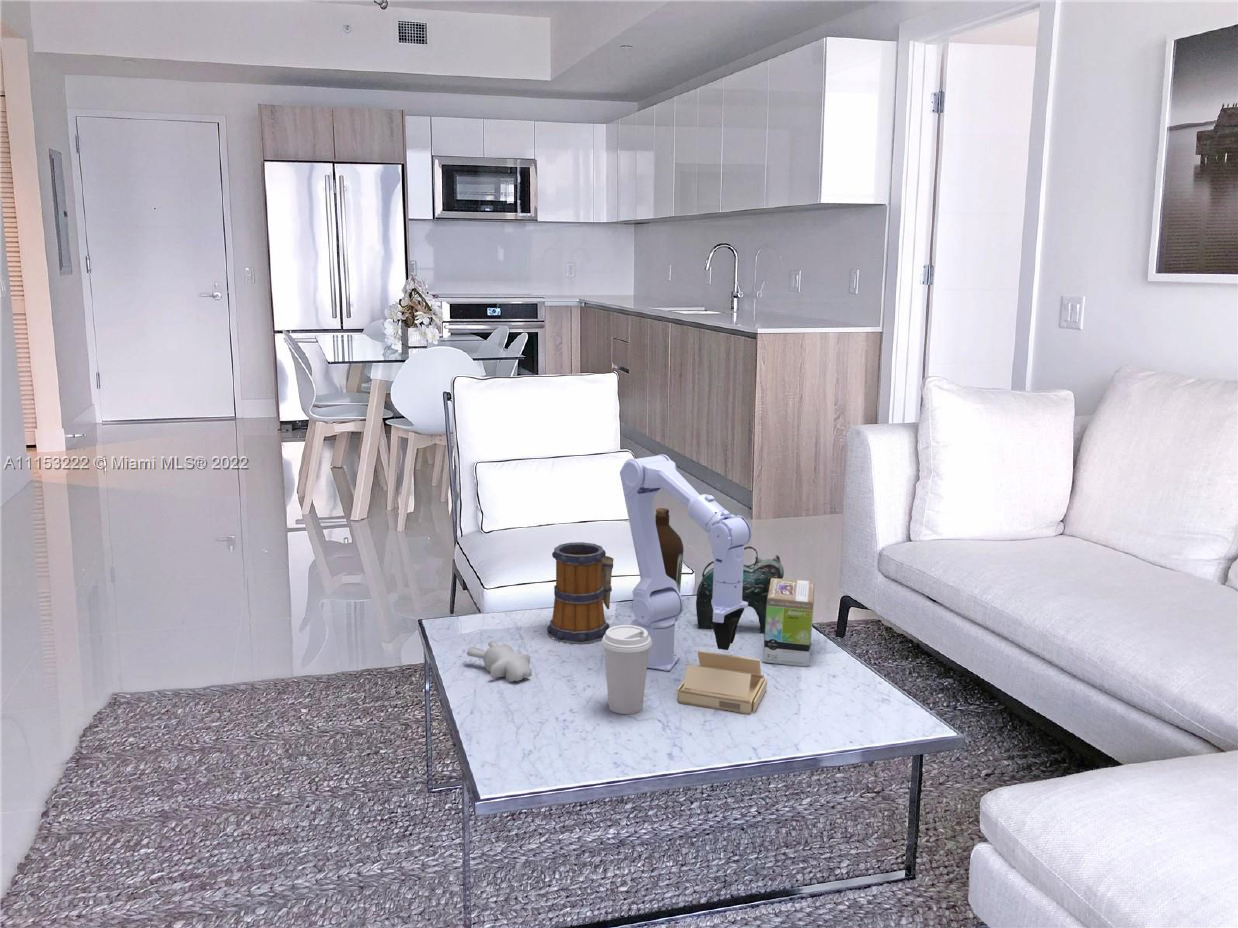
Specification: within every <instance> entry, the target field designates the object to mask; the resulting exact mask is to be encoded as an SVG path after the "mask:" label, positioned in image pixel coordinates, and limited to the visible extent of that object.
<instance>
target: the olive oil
mask: <svg viewBox="0 0 1238 928" xmlns="http://www.w3.org/2000/svg"><path fill="white" fill-rule="evenodd" d="M669 513H670V509H669V508H666V507H660V508H656V509H655V515H654V518H655V523H656V528H657V533H658V538H659V543H660V548H661V553H662V558H663V563H664V568H665V573H666V575H667V576H668V577H670V578H671V579H673V580H674V581H675V582H676V584H677V588H678V591H679V593H680V594H681V584H682V572H683V561H684V544H683V541H682V539H681V536H680V535H679V534H678V533H677V532H676V531H675V530H674V528H673V527H672V526H671V525H670V514H669ZM658 591H661V590H660V589H659V590H655V591H653V592H651V593H654V592H658Z"/></svg>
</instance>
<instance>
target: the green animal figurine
mask: <svg viewBox="0 0 1238 928" xmlns="http://www.w3.org/2000/svg"><path fill="white" fill-rule="evenodd" d="M747 549H751V550H753V551H754V552H755V553H756V556H755V562H754V563H752V564H748V565H747V564H744V565H743V588H742V600H743V601H745V602H748V606H747V608H748V607H750V608H752V609H753V610H754V611H755V614H756V615H757V617H758V623H759V634H765V621H766V606H767V598H768V592H769V586H770V580H771V578H778V579H784V576H785V575H784V574H785V571H784V567H783V566H784V565H782V562H781V556H779V555H778V554H776V555H775V557H774V558H772V559H769V558H767V559H761V558H760V557H759V555H758V551H757V549H756V548H754V546H746V547H745V546H744V551H745V550H747ZM712 564H713V565H714V560H713V561H710V562H708V563H707V565H706V566H705V567H704V569H703V571H702V574H701V577H702V579H701V581H700V583H699V584H698V587H697V590H696V601H695V609H696V610H695V611H696V621H697V629H698V630H700V629H701V630H712V625H711V623H710V621H709V618H708V616H709V614H710V612H713V608H712V605H711V600H712V598H713V571H714V567H712V568H710V569H709V570H708V571H707V572H706V570H707V569H708V568H709V567H710V566H711V565H712ZM705 572H706V573H705Z"/></svg>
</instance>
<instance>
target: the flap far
mask: <svg viewBox="0 0 1238 928" xmlns="http://www.w3.org/2000/svg"><path fill="white" fill-rule="evenodd" d="M697 657H698V658H697V659H698V665H700V666H707V667H714V668H720V669H727V670H733V671H740V672H747V673H753V674H760V675H761V674H762V670H761V660H760V659H759V658H753V657H752V658H751V657H746V656H745V657H744V656H739V655H734V654H733V655H732V654H726V653H718V652H711V651H706V650H705V651H704V650H697Z"/></svg>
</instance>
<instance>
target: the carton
mask: <svg viewBox="0 0 1238 928" xmlns="http://www.w3.org/2000/svg"><path fill="white" fill-rule="evenodd" d="M697 666H699V667H706V668H712V669H719V670H726V671H732V672H739V673H745V674H751V681H750V688H749V695H748V698H745V697H739V696H733V695H727V694H720V693H714V692H708V691H701V690H695V689H689V688H683V687H684V681H685V678H684V680H682V682H681V684H680V685H679V687H678V688H677V690H676V694H677V695H676V699H677V700H678V704H683V705H684V704H685V705H689V706H695V707H702V708H707V709H712V710H713V709H714V710H719V709H720V711H725V710H728V711H727V712H731V711H733V713H737V712H738V714H743V715H745V714H746V715H751V714H752V713H753V712H756V711H757V709H758V706H759V705H760V702H761V700H762V698H763V697H764V694H765V692H766V690H767V688H768V687H767V686H768V679H767V678H766V677H765V675H764V674H762V673H761V675H760V674H753V673H747V672H740V671H733V670H727V669H720V668H714V667H707V666H700V664H697Z"/></svg>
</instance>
